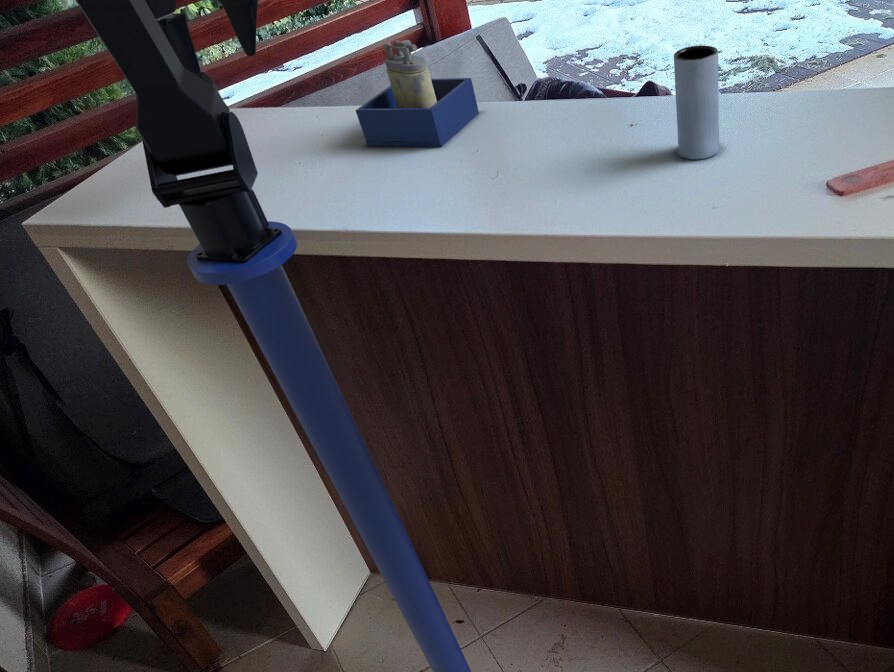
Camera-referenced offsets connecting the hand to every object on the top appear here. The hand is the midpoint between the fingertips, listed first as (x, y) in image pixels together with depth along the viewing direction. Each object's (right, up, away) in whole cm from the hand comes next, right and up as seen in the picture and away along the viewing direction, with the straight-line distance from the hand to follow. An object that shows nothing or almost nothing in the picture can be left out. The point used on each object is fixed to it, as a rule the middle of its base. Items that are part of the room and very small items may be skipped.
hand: (225, 69), depth 85 cm
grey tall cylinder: (+54, -10, -1) cm, 55 cm away
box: (+19, 0, +15) cm, 24 cm away
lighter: (+19, 0, +15) cm, 24 cm away
